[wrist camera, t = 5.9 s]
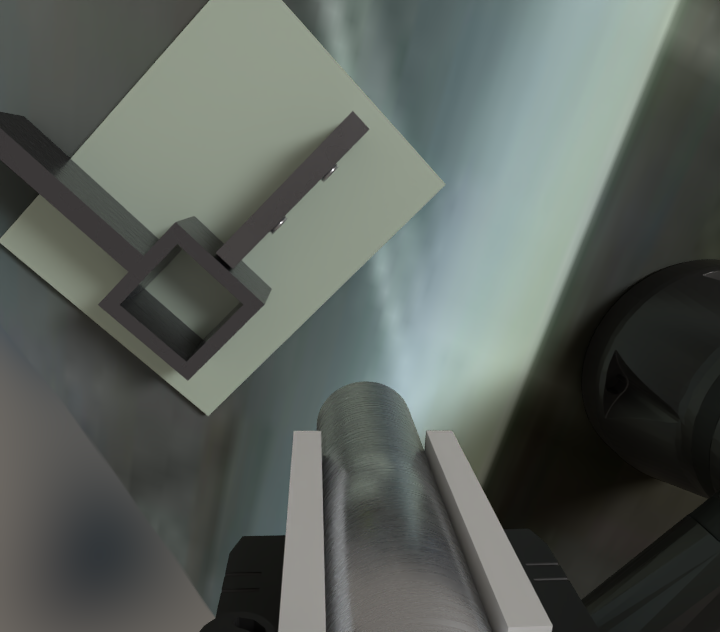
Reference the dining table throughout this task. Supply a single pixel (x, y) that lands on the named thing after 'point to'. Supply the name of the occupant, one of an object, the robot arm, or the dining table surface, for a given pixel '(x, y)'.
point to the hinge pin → (387, 524)
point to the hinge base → (133, 250)
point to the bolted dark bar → (293, 189)
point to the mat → (233, 185)
